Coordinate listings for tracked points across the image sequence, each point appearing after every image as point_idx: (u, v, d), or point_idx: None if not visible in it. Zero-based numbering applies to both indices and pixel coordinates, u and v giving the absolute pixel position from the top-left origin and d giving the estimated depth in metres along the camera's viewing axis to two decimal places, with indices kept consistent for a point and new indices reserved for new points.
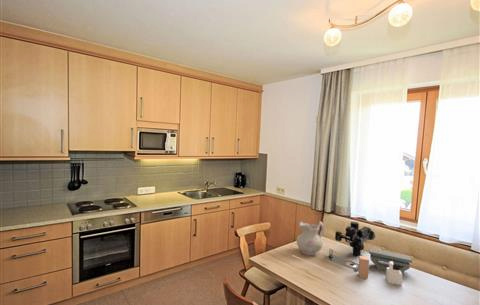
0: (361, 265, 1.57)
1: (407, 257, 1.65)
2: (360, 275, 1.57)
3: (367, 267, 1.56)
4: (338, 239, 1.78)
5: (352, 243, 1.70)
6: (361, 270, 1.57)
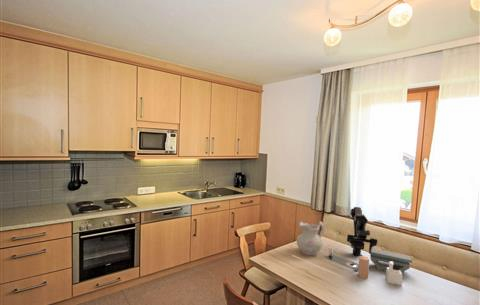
0: (361, 265, 1.57)
1: (407, 257, 1.65)
2: (360, 275, 1.57)
3: (367, 267, 1.56)
4: (354, 247, 1.69)
5: None
6: (361, 270, 1.57)
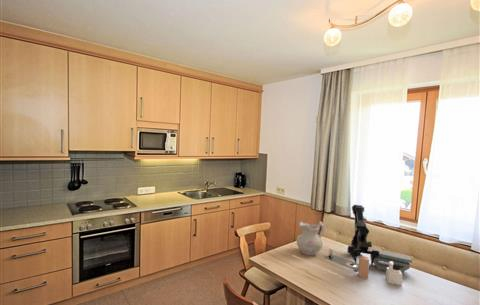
0: (361, 265, 1.57)
1: (407, 257, 1.65)
2: (360, 275, 1.57)
3: (367, 267, 1.56)
4: (355, 259, 1.62)
5: None
6: (361, 270, 1.57)
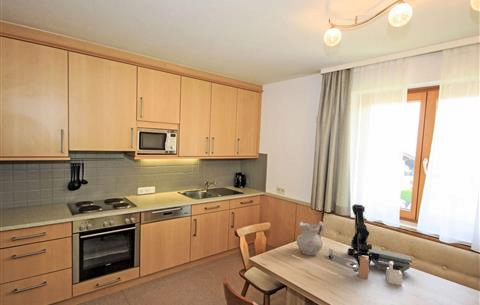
0: (361, 265, 1.57)
1: (407, 257, 1.65)
2: (360, 275, 1.57)
3: (367, 267, 1.56)
4: (359, 262, 1.60)
5: (369, 264, 1.58)
6: (361, 270, 1.57)
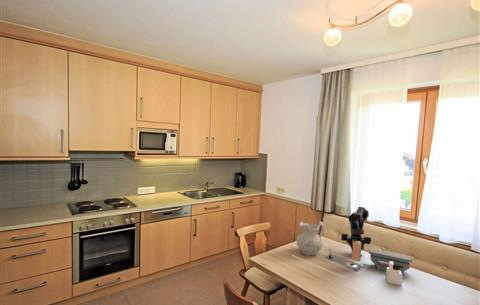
0: (354, 249, 1.67)
1: (407, 257, 1.65)
2: (353, 258, 1.67)
3: (360, 251, 1.66)
4: None
5: (362, 247, 1.68)
6: (354, 253, 1.67)
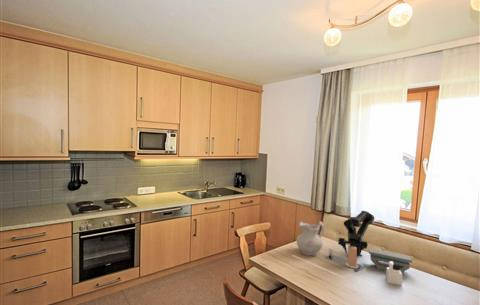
0: (350, 254, 1.70)
1: (407, 257, 1.65)
2: (349, 263, 1.70)
3: (355, 256, 1.69)
4: None
5: (360, 252, 1.71)
6: (350, 259, 1.70)
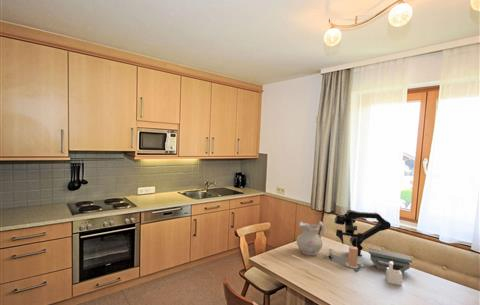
0: (350, 254, 1.70)
1: (407, 257, 1.65)
2: (349, 263, 1.70)
3: (356, 256, 1.69)
4: None
5: (357, 243, 1.79)
6: (350, 259, 1.70)
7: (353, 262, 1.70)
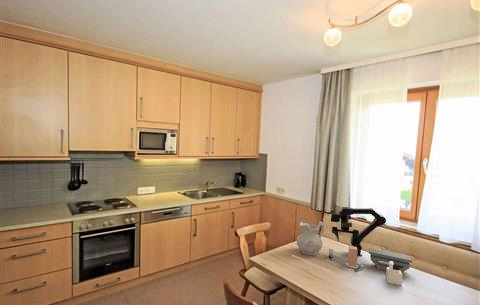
0: (350, 254, 1.70)
1: (407, 257, 1.65)
2: (349, 263, 1.70)
3: (356, 256, 1.69)
4: (338, 237, 1.84)
5: (353, 240, 1.81)
6: (350, 259, 1.70)
7: (353, 262, 1.69)
